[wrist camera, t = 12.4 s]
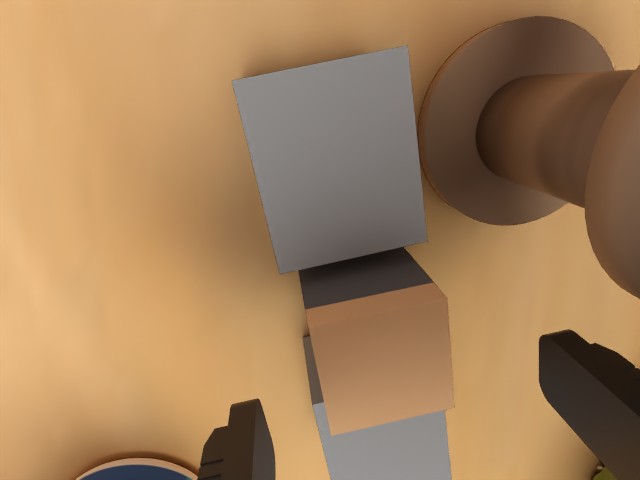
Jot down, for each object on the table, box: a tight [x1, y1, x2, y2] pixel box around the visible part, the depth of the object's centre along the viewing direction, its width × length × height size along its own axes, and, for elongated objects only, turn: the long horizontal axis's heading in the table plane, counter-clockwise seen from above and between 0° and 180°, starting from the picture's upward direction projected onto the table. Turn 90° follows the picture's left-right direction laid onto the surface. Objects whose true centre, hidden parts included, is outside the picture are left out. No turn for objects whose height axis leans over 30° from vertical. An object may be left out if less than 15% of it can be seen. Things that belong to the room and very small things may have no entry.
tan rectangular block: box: [298, 247, 455, 436], centre depth 16 cm, size 4×4×7 cm
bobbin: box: [418, 16, 640, 299], centre depth 13 cm, size 8×8×10 cm
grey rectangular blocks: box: [232, 45, 452, 480], centre depth 17 cm, size 5×18×4 cm, turn 11°
